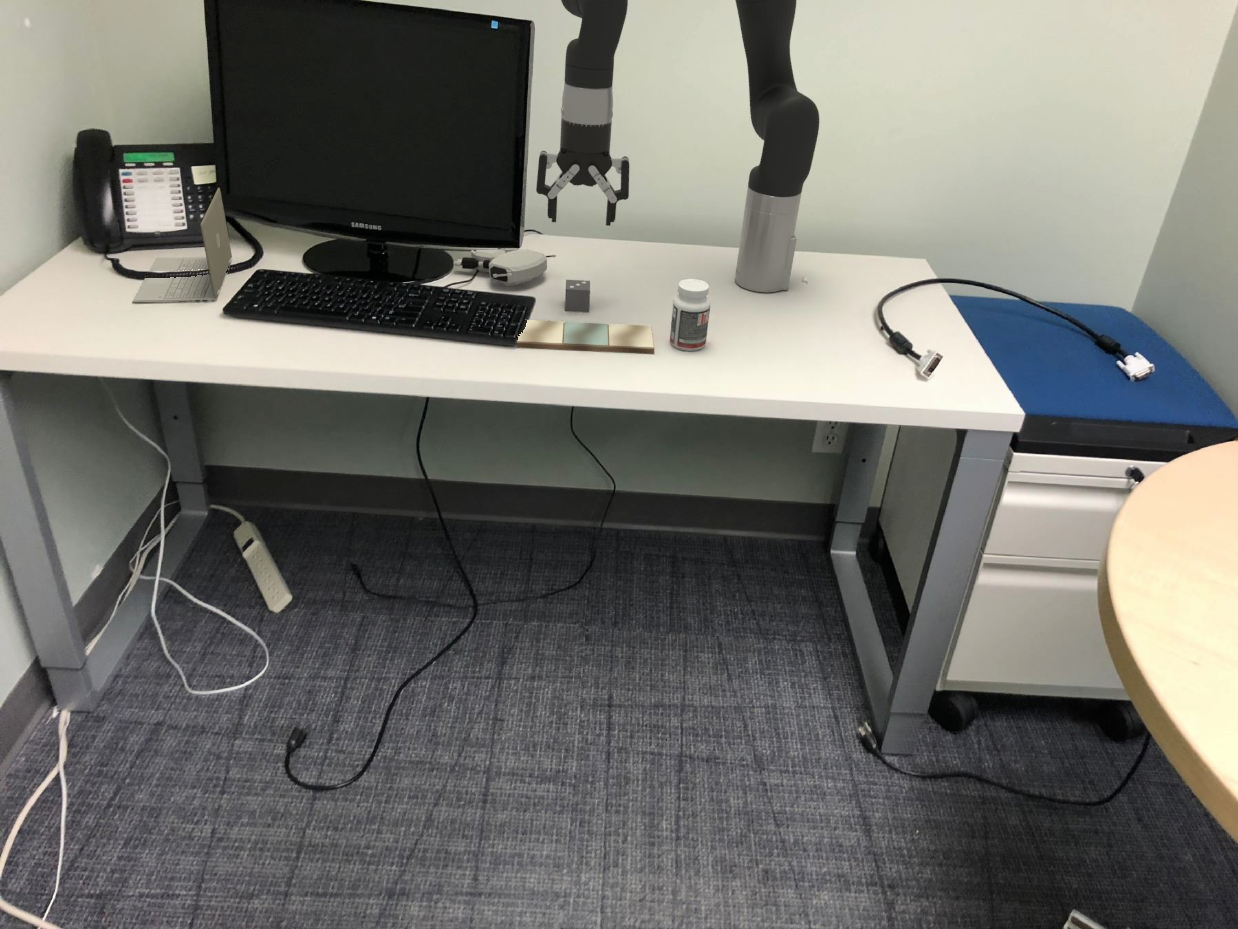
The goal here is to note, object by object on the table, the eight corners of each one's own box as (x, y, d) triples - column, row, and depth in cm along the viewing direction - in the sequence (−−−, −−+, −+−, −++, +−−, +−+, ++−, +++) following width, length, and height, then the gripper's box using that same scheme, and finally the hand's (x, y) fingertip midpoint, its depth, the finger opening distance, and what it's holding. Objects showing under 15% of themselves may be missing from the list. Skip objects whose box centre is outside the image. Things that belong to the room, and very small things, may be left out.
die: (588, 302, 158) (590, 280, 156) (589, 312, 155) (590, 289, 152) (565, 301, 158) (566, 279, 156) (564, 311, 154) (565, 288, 152)
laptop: (156, 261, 161) (139, 186, 154) (233, 260, 164) (220, 186, 157) (132, 305, 147) (113, 224, 140) (217, 303, 149) (202, 224, 142)
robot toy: (449, 278, 165) (514, 296, 158) (447, 253, 163) (512, 271, 155) (496, 260, 174) (559, 276, 166) (495, 236, 171) (559, 251, 164)
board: (651, 330, 150) (651, 325, 150) (654, 353, 144) (654, 347, 143) (519, 324, 149) (519, 319, 148) (516, 347, 142) (516, 341, 142)
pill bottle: (712, 344, 148) (720, 285, 142) (690, 355, 144) (697, 295, 138) (684, 332, 151) (690, 274, 145) (661, 343, 147) (667, 283, 141)
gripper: (633, 113, 142) (625, 217, 151) (539, 106, 141) (536, 211, 150) (635, 125, 136) (626, 233, 145) (537, 118, 135) (534, 227, 144)
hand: (580, 222), depth 148 cm, fingers open, 8 cm apart
